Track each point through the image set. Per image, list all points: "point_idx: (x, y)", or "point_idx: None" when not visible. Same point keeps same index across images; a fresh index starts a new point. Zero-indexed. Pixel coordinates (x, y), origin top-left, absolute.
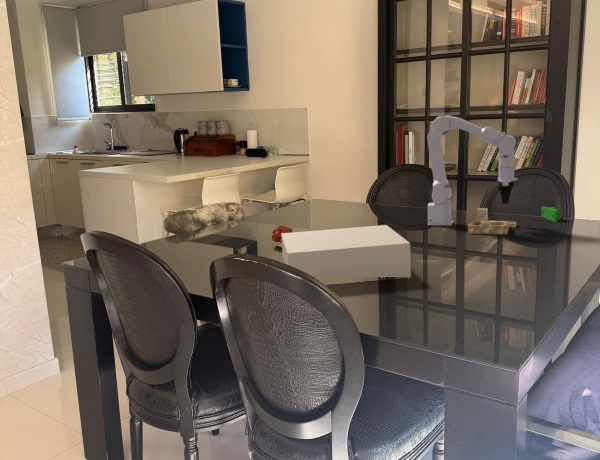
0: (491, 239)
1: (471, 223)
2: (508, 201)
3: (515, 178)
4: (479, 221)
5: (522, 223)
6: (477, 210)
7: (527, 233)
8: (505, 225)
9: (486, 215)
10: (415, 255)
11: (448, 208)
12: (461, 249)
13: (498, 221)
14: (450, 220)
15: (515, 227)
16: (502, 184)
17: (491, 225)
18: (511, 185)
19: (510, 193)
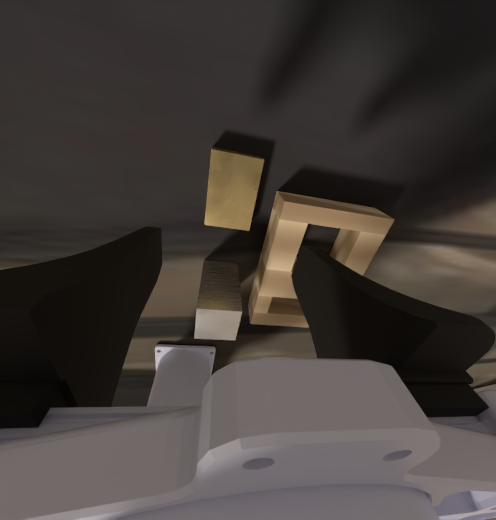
0: (420, 258)
1: (300, 321)
2: (321, 252)
3: (406, 465)
4: (270, 302)
5: (146, 97)
6: (235, 336)
7: (389, 119)
8: (374, 224)
9: (240, 293)
10: (468, 371)
11: (197, 403)
12: (478, 318)
13: (284, 243)
14: (193, 358)
15: (261, 157)
16: (103, 399)
17: (355, 270)
18: (84, 302)
19: (136, 246)
